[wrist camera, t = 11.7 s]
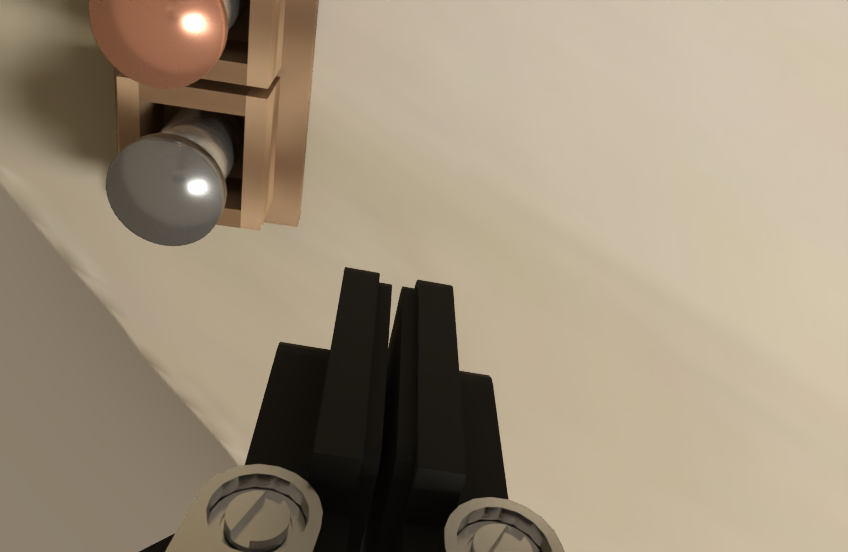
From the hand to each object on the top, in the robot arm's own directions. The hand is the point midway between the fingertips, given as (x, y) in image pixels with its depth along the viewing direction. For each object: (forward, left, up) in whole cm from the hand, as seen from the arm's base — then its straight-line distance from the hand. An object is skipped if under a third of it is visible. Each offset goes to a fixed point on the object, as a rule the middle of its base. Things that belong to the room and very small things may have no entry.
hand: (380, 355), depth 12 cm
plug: (+8, -9, -29) cm, 31 cm away
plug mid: (0, -9, -28) cm, 30 cm away
